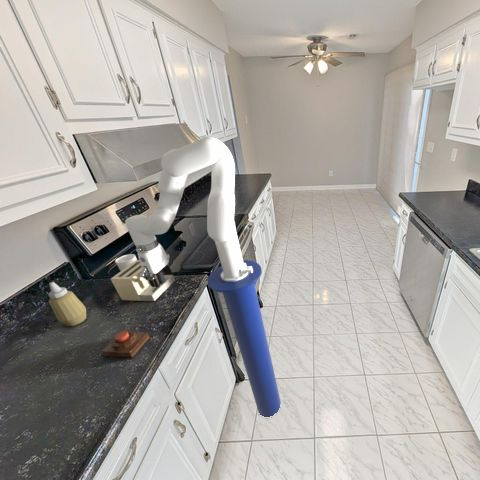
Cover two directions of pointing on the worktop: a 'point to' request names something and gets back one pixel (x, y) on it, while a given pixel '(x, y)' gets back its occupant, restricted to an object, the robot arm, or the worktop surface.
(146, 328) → the worktop surface
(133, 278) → the toaster
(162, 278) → the toaster slider
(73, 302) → the squeeze bottle
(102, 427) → the worktop surface
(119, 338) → the timer button
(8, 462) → the worktop surface
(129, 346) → the base
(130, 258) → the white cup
